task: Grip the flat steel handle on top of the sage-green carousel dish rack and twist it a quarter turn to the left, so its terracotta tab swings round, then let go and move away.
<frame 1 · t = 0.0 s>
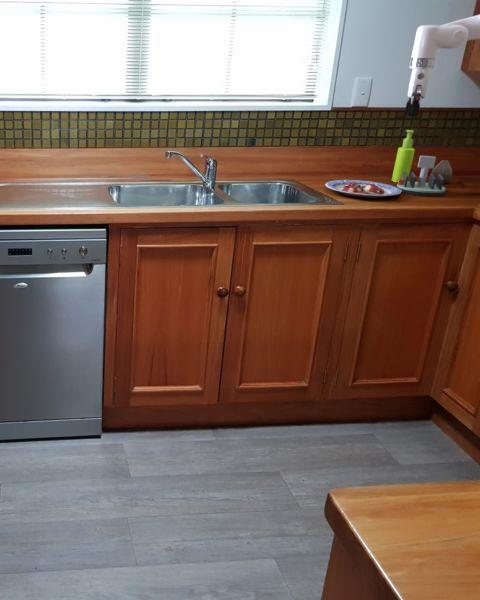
hand: (410, 115, 218), 27 cm above the table, tool pointing down, fingers open, 9 cm apart
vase: (439, 183, 244), on the table
dish rack: (424, 172, 225), point 7 cm above the table, hinge at 0.0°
ceramic plate: (361, 193, 224), on the table
turntable base: (419, 191, 228), on the table
soap dispenser: (399, 181, 245), on the table
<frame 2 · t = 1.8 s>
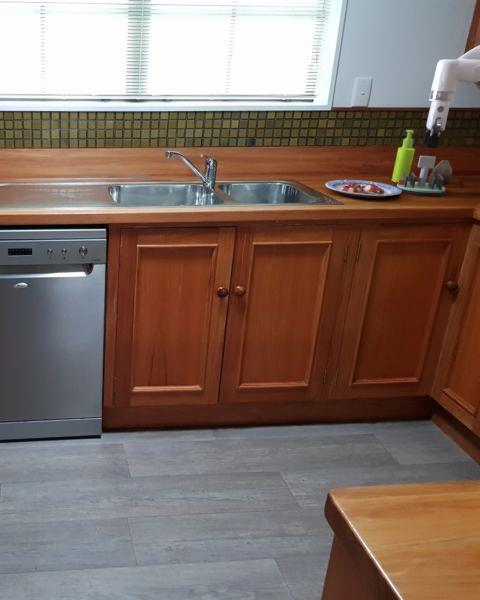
hand: (429, 146, 221), 17 cm above the table, tool pointing down, fingers open, 9 cm apart
nothing on the table moved.
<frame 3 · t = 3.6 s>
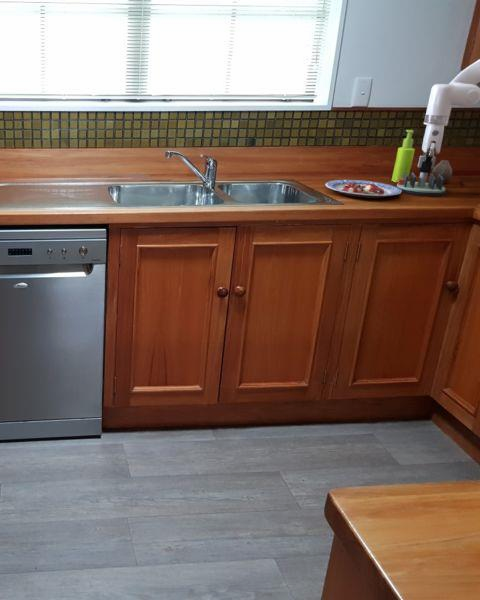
hand: (424, 171, 225), 8 cm above the table, tool pointing down, fingers closed on dish rack, 2 cm apart
dish rack: (424, 172, 225), point 7 cm above the table, hinge at 0.0°, touching gripper
everything else where it was.
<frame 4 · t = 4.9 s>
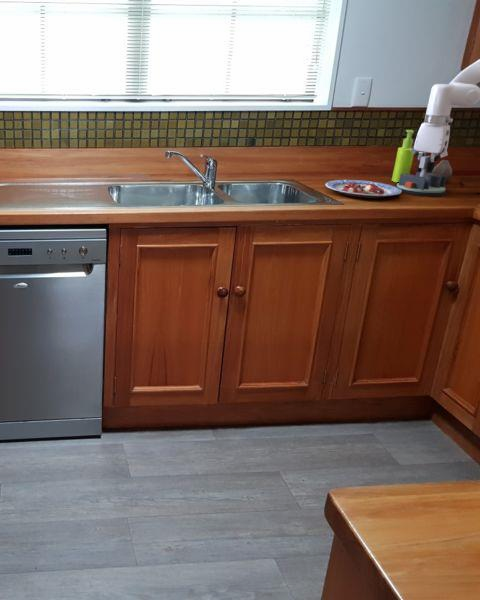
hand: (424, 171, 225), 8 cm above the table, tool pointing down, fingers closed on dish rack, 2 cm apart
dish rack: (424, 172, 225), point 7 cm above the table, hinge at 48.5°, touching gripper
everything else where it was.
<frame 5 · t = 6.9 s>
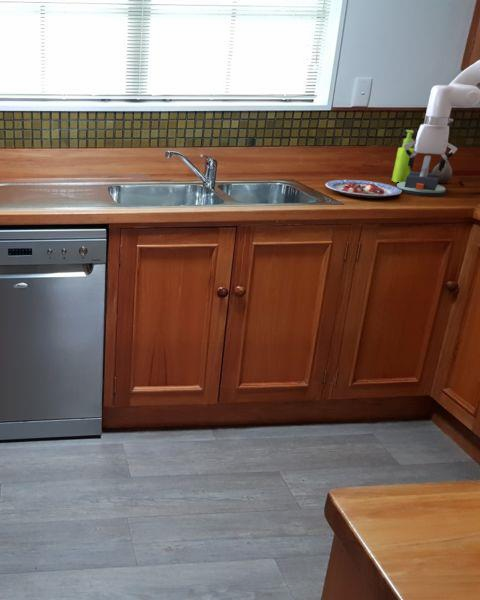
hand: (425, 169, 225), 8 cm above the table, tool pointing down, fingers open, 9 cm apart
dish rack: (424, 172, 225), point 7 cm above the table, hinge at 78.8°
everything else where it was.
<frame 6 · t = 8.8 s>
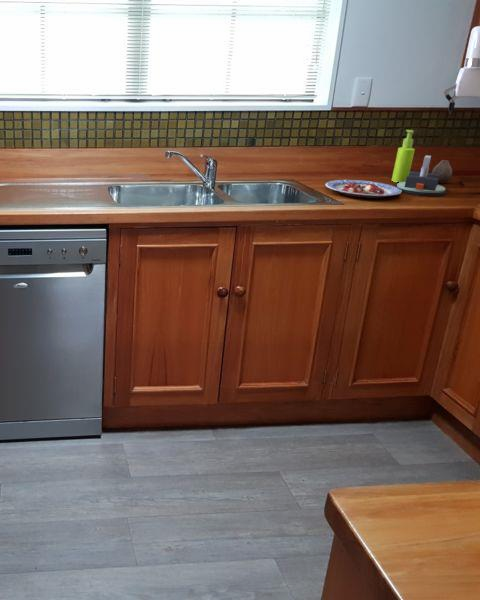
hand: (465, 113, 223), 28 cm above the table, tool pointing down, fingers open, 9 cm apart
nothing on the table moved.
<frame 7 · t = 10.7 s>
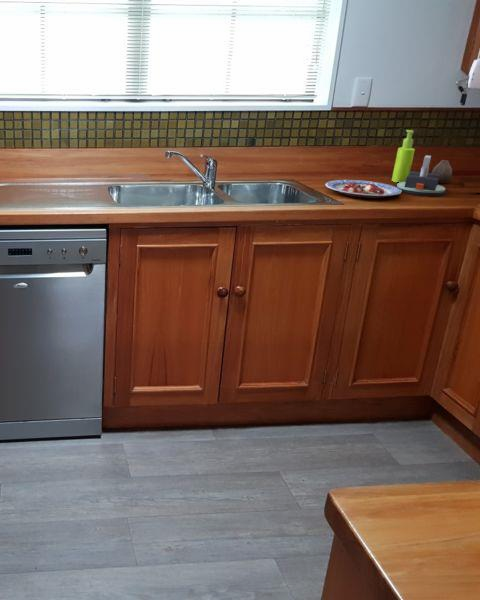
hand: (477, 105, 224), 30 cm above the table, tool pointing down, fingers open, 9 cm apart
nothing on the table moved.
at the end: dish rack at +79° (first picture: +0°); the gripper is holding nothing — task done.
